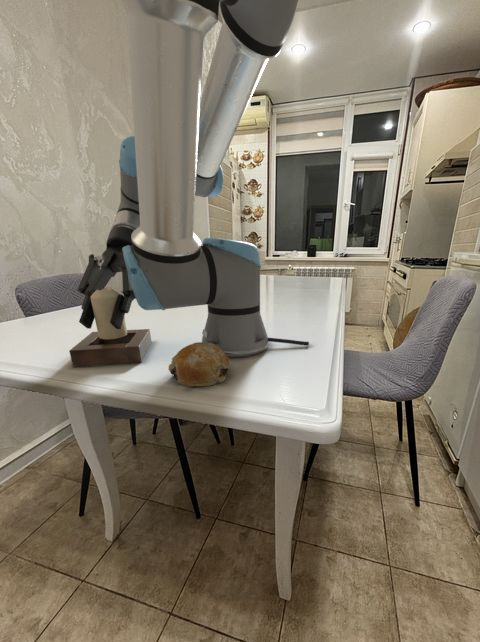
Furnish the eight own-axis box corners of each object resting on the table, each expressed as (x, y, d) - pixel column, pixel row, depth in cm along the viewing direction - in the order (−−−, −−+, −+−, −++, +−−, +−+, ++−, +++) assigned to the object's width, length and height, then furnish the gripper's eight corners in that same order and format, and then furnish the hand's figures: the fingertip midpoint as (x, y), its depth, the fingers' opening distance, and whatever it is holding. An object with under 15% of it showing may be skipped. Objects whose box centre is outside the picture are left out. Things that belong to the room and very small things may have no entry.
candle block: (151, 342, 70) (149, 328, 69) (141, 362, 59) (138, 346, 57) (95, 346, 68) (92, 331, 67) (73, 367, 56) (68, 350, 55)
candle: (109, 331, 65) (100, 286, 61) (132, 332, 64) (124, 286, 61) (92, 339, 60) (82, 290, 56) (117, 340, 59) (108, 290, 55)
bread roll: (208, 409, 49) (225, 372, 46) (154, 381, 49) (168, 341, 46) (226, 383, 58) (242, 350, 55) (181, 359, 58) (194, 325, 55)
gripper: (172, 249, 70) (153, 335, 60) (98, 249, 71) (68, 333, 61) (161, 224, 63) (137, 316, 53) (79, 224, 64) (41, 314, 55)
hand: (100, 325), depth 57 cm, fingers closed on candle, 5 cm apart
